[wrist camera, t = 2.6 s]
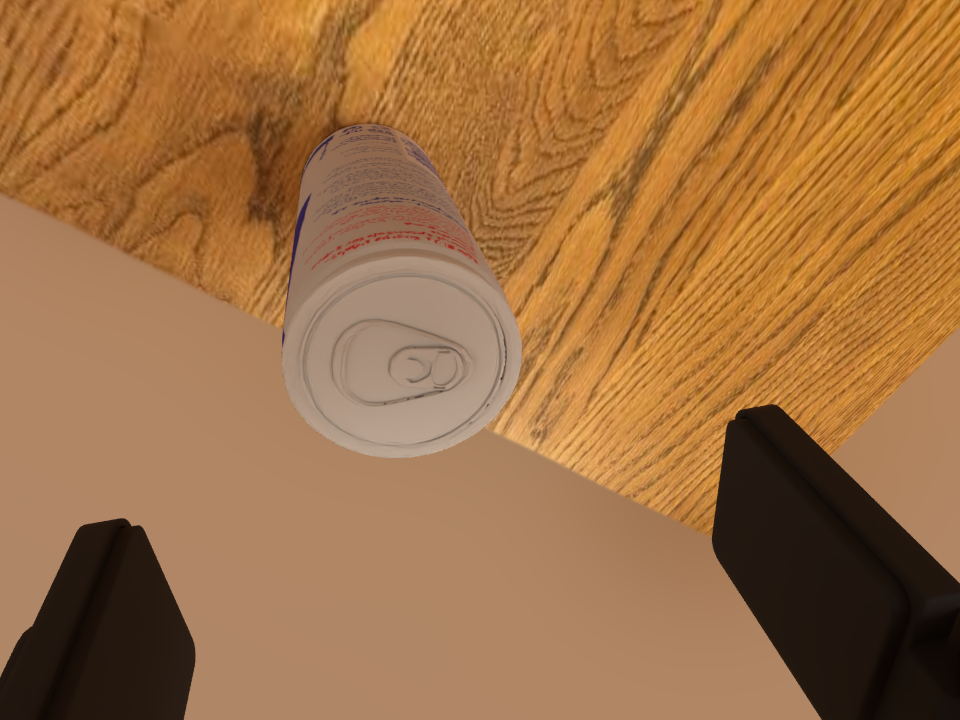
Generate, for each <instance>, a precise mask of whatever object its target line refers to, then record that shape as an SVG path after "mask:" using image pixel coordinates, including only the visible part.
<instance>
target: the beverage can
mask: <svg viewBox="0 0 960 720" xmlns="http://www.w3.org/2000/svg"><path fill="white" fill-rule="evenodd" d="M282 344H283V345H282V347H283V349H282V370H283V378H284V382H285V385H286V389H287V392H288V395H289V397H290V399H291V401H292V403H293V405H294V406H295V408H296V409H297V411H298V412H299V413H300V415H301V416H302V417H303V419H304V420H305V421H306V422H307V423H308V424H309V425H310V426H311V427H312V428H313V429H314V430H315V431H317V432H318V433H320V434H321V435H323V436H324V437H326V438H327V439H329V440H330V441H332V442H333V443H335V444H337V445H339V446H341V447H343V448H346V449H349V450H352V451H355V452H358V453H362V454H365V455H371V456H375V457H386V458H403V457H404V458H405V457H417V456H422V455H427V454H432V453H435V452H438V451H442V450H445V449H447V448H450V447H452V446H454V445H457V444H459V443H461V442H462V441H464V440H466V439H468V438H470V437H472V436H473V435H474V434H476V433H477V432H479V431H480V430H481V429H482V428H484V427H485V426H486V425H487V424H488V423H489V422H491V421H492V420H493V419H494V418H495V417H496V416H497V414H498V413H499V412H500V410H501V409H502V408H503V406H504V405H505V403H506V402H507V400H508V399H509V397H510V396H511V394H512V392H513V390H514V388H515V385H516V383H517V381H518V377H519V372H520V368H521V362H522V342H521V337H520V333H519V328H518V324H517V322H516V319H515V317H514V315H513V313H512V311H511V309H510V306H509V304H508V301H507V298H506V296H505V294H504V292H503V290H502V288H501V286H500V284H499V282H498V280H497V279H496V277H495V275H494V273H493V271H492V270H491V268H490V266H489V264H488V263H487V261H486V259H485V257H484V255H483V254H482V252H481V250H480V248H479V247H478V245H477V243H476V241H475V239H474V238H473V236H472V234H471V232H470V231H469V229H468V227H467V225H466V223H465V222H464V220H463V218H462V216H461V214H460V213H459V211H458V209H457V207H456V206H455V204H454V202H453V200H452V198H451V197H450V195H449V193H448V191H447V190H446V188H445V186H444V184H443V182H442V181H441V179H440V177H439V175H438V173H437V172H436V170H435V168H434V166H433V165H432V163H431V161H430V159H429V158H428V156H427V154H426V153H425V152H424V150H423V149H422V148H421V147H420V146H419V145H418V144H417V143H416V142H415V141H414V140H413V139H411V138H410V137H408V136H407V135H405V134H404V133H402V132H400V131H398V130H396V129H393V128H390V127H387V126H383V125H377V124H358V125H353V126H348V127H346V128H343V129H340V130H338V131H336V132H334V133H333V134H331V135H329V136H328V137H327V138H325V139H324V140H323V141H322V142H321V143H320V144H319V145H318V146H317V147H316V148H315V149H314V151H313V152H312V153H311V155H310V157H309V158H308V160H307V162H306V164H305V167H304V170H303V173H302V178H301V188H300V196H299V205H298V213H297V221H296V229H295V237H294V245H293V253H292V261H291V269H290V277H289V285H288V293H287V301H286V309H285V317H284V325H283V338H282Z"/></svg>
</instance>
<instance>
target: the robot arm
mask: <svg viewBox="0 0 960 720" xmlns="http://www.w3.org/2000/svg"><path fill="white" fill-rule="evenodd" d="M712 544H713V549H714V552H715V554H716V557H717V559H718V561H719V562H720V564H721V565H722V567H723V568H724V570H725V571H726V573H727V574H728V576H729V577H730V579H731V580H732V582H733V584H734V585H735V587H736V588H737V590H738V591H739V593H740V594H741V596H742V598H743V599H744V601H745V602H746V604H747V605H748V607H749V608H750V609H751V611H752V613H753V614H754V616H755V618H756V619H757V621H758V622H759V624H760V625H761V627H762V628H763V630H764V631H765V633H766V634H767V636H768V638H769V639H770V640H771V642H772V644H773V645H774V647H775V648H776V650H777V651H778V653H779V655H780V656H781V658H782V659H783V660H784V662H785V664H786V665H787V667H788V668H789V670H790V671H791V673H792V674H793V676H794V678H795V679H796V681H797V682H798V684H799V685H800V687H801V688H802V690H803V691H804V693H805V694H806V696H807V698H808V699H809V701H810V702H811V704H812V705H813V707H814V708H815V710H816V711H817V713H818V715H819V716H820V718H821V719H822V720H960V583H959V582H958V581H957V580H956V579H955V578H954V577H953V576H952V575H951V574H950V573H949V572H948V571H946V570H945V569H944V568H943V567H942V566H941V565H940V564H939V563H938V562H937V561H936V560H935V559H934V558H933V557H932V556H931V555H930V554H929V553H928V552H927V551H926V550H925V549H924V548H923V547H922V546H921V545H920V544H919V543H918V542H917V541H916V540H915V539H914V538H913V537H912V536H911V535H910V534H909V533H908V532H907V531H906V530H905V529H904V528H903V527H901V525H899V523H897V522H896V521H895V520H894V519H893V518H892V517H891V516H890V515H889V514H888V513H887V512H886V511H885V510H884V509H883V508H882V507H881V506H880V505H879V504H878V503H877V502H876V501H875V500H874V499H873V498H872V497H871V496H870V495H869V494H868V493H867V492H866V491H865V490H864V489H863V488H862V487H861V486H860V485H859V484H858V483H857V482H856V481H855V480H854V479H853V478H851V476H849V474H848V473H847V472H845V471H844V470H843V469H842V468H841V467H840V466H839V465H838V464H837V463H836V462H835V461H834V460H833V459H832V458H831V457H830V456H829V455H828V454H827V453H826V452H825V451H824V450H823V449H822V448H821V447H820V446H819V445H818V444H817V443H816V442H815V441H814V440H813V439H812V438H811V437H810V436H809V435H808V434H807V433H806V432H805V431H804V430H803V429H802V428H801V427H800V426H799V425H798V424H797V423H795V422H794V421H793V420H792V419H791V418H790V417H789V416H788V415H787V414H786V413H785V412H784V411H783V410H782V409H781V408H780V407H778V406H777V405H773V404H771V405H765V406H760V407H754V408H748V409H742V410H740V411H738V413H737V414H736V417H735V420H731V421H729V423H728V425H727V429H726V436H725V444H724V451H723V459H722V466H721V474H720V481H719V488H718V496H717V503H716V511H715V518H714V526H713V533H712ZM194 667H195V646H194V642H193V639H192V637H191V634H190V632H189V630H188V627H187V625H186V623H185V621H184V618H183V616H182V614H181V612H180V610H179V607H178V605H177V603H176V600H175V598H174V596H173V594H172V591H171V589H170V587H169V585H168V582H167V580H166V578H165V576H164V573H163V571H162V569H161V567H160V564H159V562H158V560H157V558H156V556H155V553H154V551H153V549H152V547H151V545H150V542H149V540H148V538H147V535H146V533H145V531H144V529H143V528H142V527H141V526H139V525H137V526H131V524H130V523H129V522H128V521H127V520H126V519H123V518H120V519H115V520H109V521H103V522H97V523H92V524H86V525H83V526H81V527H80V528H79V529H78V531H77V532H76V534H75V536H74V539H73V541H72V543H71V545H70V547H69V549H68V551H67V553H66V556H65V558H64V560H63V562H62V564H61V566H60V569H59V570H58V573H57V575H56V577H55V579H54V581H53V583H52V585H51V588H50V590H49V592H48V594H47V596H46V598H45V600H44V603H43V605H42V607H41V609H40V611H39V613H38V615H37V618H36V620H35V622H34V624H33V626H32V627H30V628H29V629H28V630H26V631H25V632H24V633H23V634H22V636H21V638H20V639H19V640H18V642H17V644H16V646H15V648H14V650H13V652H12V654H11V656H10V658H9V660H8V662H7V664H6V667H5V668H4V671H3V673H2V675H1V677H0V720H184V715H185V710H186V705H187V701H188V695H189V691H190V686H191V681H192V676H193V672H194Z"/></svg>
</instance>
